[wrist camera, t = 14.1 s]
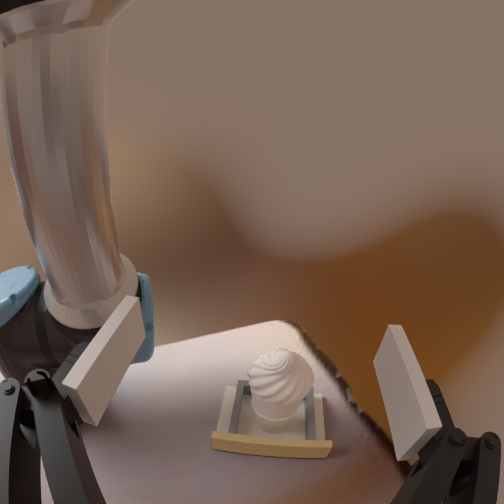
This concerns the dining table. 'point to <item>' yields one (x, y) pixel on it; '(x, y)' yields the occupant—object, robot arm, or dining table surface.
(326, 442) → the grey shallow tray
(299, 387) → the soft serve ice cream cone
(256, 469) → the dining table surface
